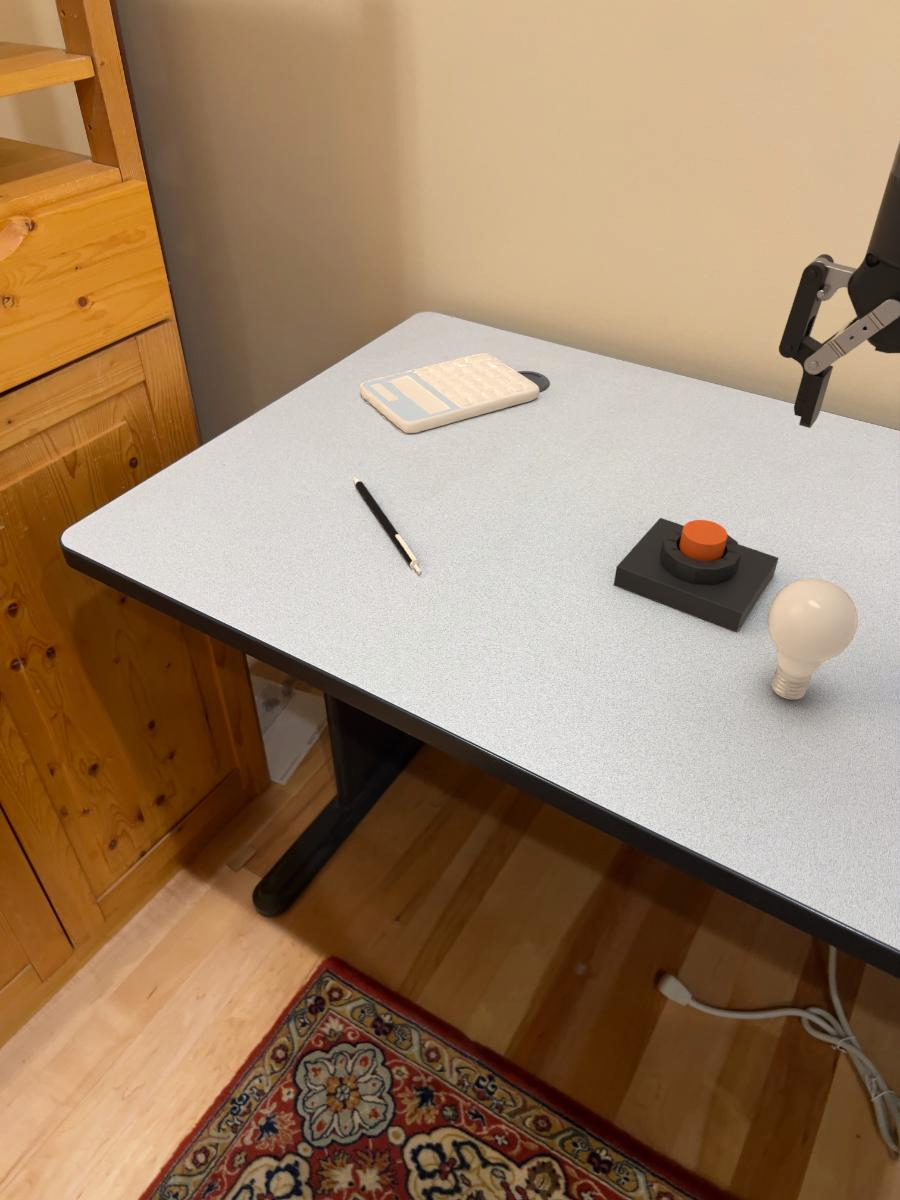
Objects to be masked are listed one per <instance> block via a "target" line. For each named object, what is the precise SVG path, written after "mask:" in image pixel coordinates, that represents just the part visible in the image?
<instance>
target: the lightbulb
mask: <svg viewBox="0 0 900 1200" xmlns="http://www.w3.org/2000/svg"><path fill="white" fill-rule="evenodd" d="M766 622H767V629H768V633H769V635H770V638H771V640H772V642H773V644H774V646H775V647H776V653H775V654H776V655H775V656H776V657H775V659H776V663H777V664H776V668H775V672H774V674H773V677H772V680H771V683H770V685H771V689H772V690H773V692H774V693H775V694H776V695H778V696H779V697H780V698H783V699H786V700H799V699H801V698H803V697H804V696H805V695H806V692H807V689H808V688H809V684H810V681H811V679H812V677H813V675H814V674H816V672H818V670H819V669H820V668H821V666H822V665H823V664H824V663H826V662H828V661H831V660H832V659H834V658H836V657H837V656H839V655H841V654H842V653H843V652H844V651H846V650H847V649H848V648H849V646H850V645H851V643H852V641H853V640H854V638H855V637H856V633H857V630H858V625H859V624H858V623H859V616H858V611H857V607H856V605H855V602H854V601H853V599H852V597H851V596H850V595H849V594H848V592H846V591H845V590H844V589H843V588H842V587H840V586H839V585H837V584H836V583H834V582H832V581H828V580H826V579H821V578H802V579H798V580H795V581H793V582H791V583H789V584H787V585H786V586H784V587H783V588H782V589H781V590H780V591H778V593H777V594H776V595H775V596H774V598H773V599H772V601H771V602H770V605H769V608H768V611H767V620H766Z"/></svg>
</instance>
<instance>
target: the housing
mask: <svg viewBox="0 0 900 1200" xmlns="http://www.w3.org/2000/svg"><path fill="white" fill-rule="evenodd" d="M683 527H684V525H683V524H680V523H677V522H674V521H671V520H669V519H667V518H663V517H659V518H658V519H657V520H656V522H655V523H654V524H653V525H652V526H651V528H650V529H649V530H648V531H647V532H646V533H645V534H644V535H643V536H642V537H641V538H640V540H639V541H638V542H637V543H636V544H635V546H633V548H631V550H630V551H629V552H628V553H627V555H626V556H624V558H623V559H622V560H621V561H620V562H619V563H618V565H616V569H615V575H614V582H613V586H616V587H618V588H621V589H624V590H626V591H628V592H631V593H634V594H637V595H639V596H642V597H644V598H646V599H649V600H652V601H655V602H658V603H659V604H663V605H665V606H668V607H670V608H673V609H675V610H679V611H681V612H683V613H686V614H688V615H691V616H693V617H697V618H699V619H702V620H704V621H706V622H709V623H712V624H715V625H717V626H720V627H721V628H722V627H723V628H725V629H727V630H730V631H733V632H736V633H737V632H739V630H740V628H741V627H742V625H743V624H744V622H745V620H746V619H747V617H748V616H749V614H750V613H751V611H752V610H753V608H754V607H755V605H756V603H757V602H758V601H759V599H760V597H761V596H762V595H763V593H764V592H765V590H766V588H767V587H768V586H769V583H770V582H771V580H772V579H773V577H774V575H775V572H776V568H777V565H778V561H779V557H778V556H775V555H772V554H769V553H766V552H762V551H760V550H758V549H754V548H751V547H747V546H745V545H742V544H740V543H738V541H737V540H735V539H734V538H733V537H732V536H730V535H729V534H728V533H727V535H728V537H727V541H726V545H725V549H724V553H723V556H722V557H721V558H720V559H718V560H715V561H699V560H696V559H693V558H690V557H687V556H685V555H684V554H683V553H682V552H681V551H680V549H679V544H680V539H681V535H682V530H683Z"/></svg>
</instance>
